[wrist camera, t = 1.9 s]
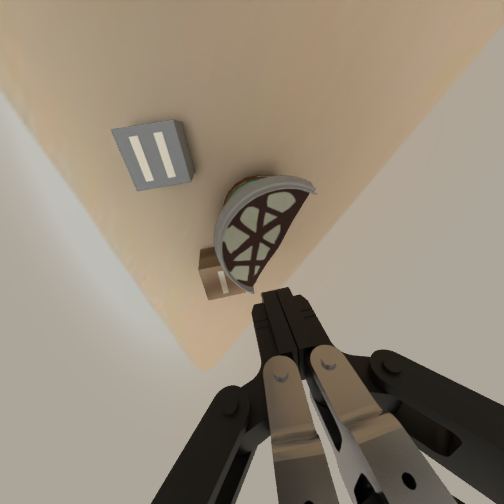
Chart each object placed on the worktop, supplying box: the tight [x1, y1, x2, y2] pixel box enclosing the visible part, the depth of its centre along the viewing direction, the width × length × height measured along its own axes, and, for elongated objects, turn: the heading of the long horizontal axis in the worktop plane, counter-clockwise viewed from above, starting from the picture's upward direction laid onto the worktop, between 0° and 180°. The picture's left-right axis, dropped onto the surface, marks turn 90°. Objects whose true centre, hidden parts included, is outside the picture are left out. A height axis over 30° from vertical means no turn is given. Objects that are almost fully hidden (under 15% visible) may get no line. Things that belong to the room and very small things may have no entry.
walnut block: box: [198, 247, 246, 300], centre depth 28 cm, size 5×5×5 cm
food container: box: [214, 175, 317, 294], centre depth 22 cm, size 12×6×10 cm, turn 153°
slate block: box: [111, 120, 195, 191], centre depth 20 cm, size 5×5×5 cm
